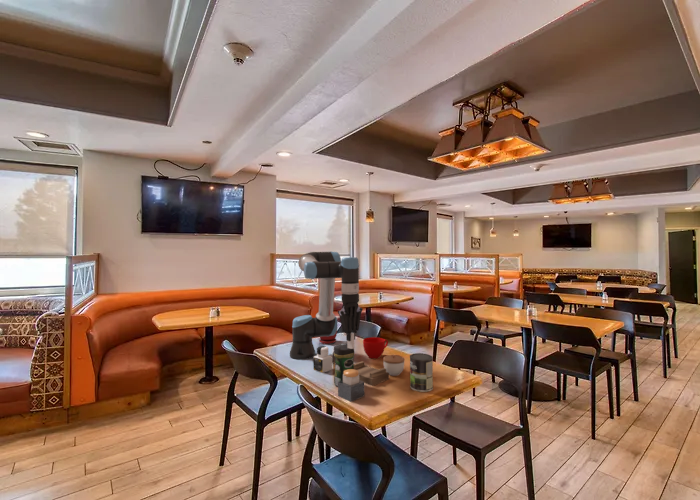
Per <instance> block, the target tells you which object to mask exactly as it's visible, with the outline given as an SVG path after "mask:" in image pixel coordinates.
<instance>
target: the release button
mask: <svg viewBox="0 0 700 500" xmlns="http://www.w3.org/2000/svg"><path fill="white" fill-rule="evenodd" d="M343 383H346V384H348V385H350V386H351V385H354V384H356V383H359V374H358V370H355V369H348V370H345V371H344V374H343Z"/></svg>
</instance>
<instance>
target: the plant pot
mask: <svg viewBox="0 0 700 500" xmlns="http://www.w3.org/2000/svg"><path fill="white" fill-rule="evenodd" d="M337 334H338V330H337V331H336V333H335V335H333V336H328V337H327V336H324V337H319V342H320V343H321V344H324V345H330V344H334V343H337V339H336V338H337Z"/></svg>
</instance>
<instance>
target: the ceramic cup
mask: <svg viewBox="0 0 700 500" xmlns="http://www.w3.org/2000/svg"><path fill="white" fill-rule="evenodd" d="M362 343H363V344H362V346H363V351H364V353H365V354H366V356H367V357H368V358H369V359H373V360H375V359H380V358H381V356H382V355H383V353H384V351H385V349H387V346H388V344H389V341H388V339H385V338H382V337H378V336H377V337H375V336H374V337H373V336H372V337H371V336H370V337H366V338H364V339H363V340H362Z"/></svg>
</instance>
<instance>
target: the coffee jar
mask: <svg viewBox="0 0 700 500" xmlns="http://www.w3.org/2000/svg"><path fill="white" fill-rule="evenodd" d="M355 353H356V352H355V348H354V349H350V348H347V343H345V344H344V343H343V344H340V345H335V346H334V347H333V356H334V361H335V362H334V363H335V365H334V377H333V378H334V379H333V383H334V385H335V386H336V388H338V382H339V381H342V380H343V374H344V371H345V370H348V369H354V364H355V363H354V357H355Z"/></svg>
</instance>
